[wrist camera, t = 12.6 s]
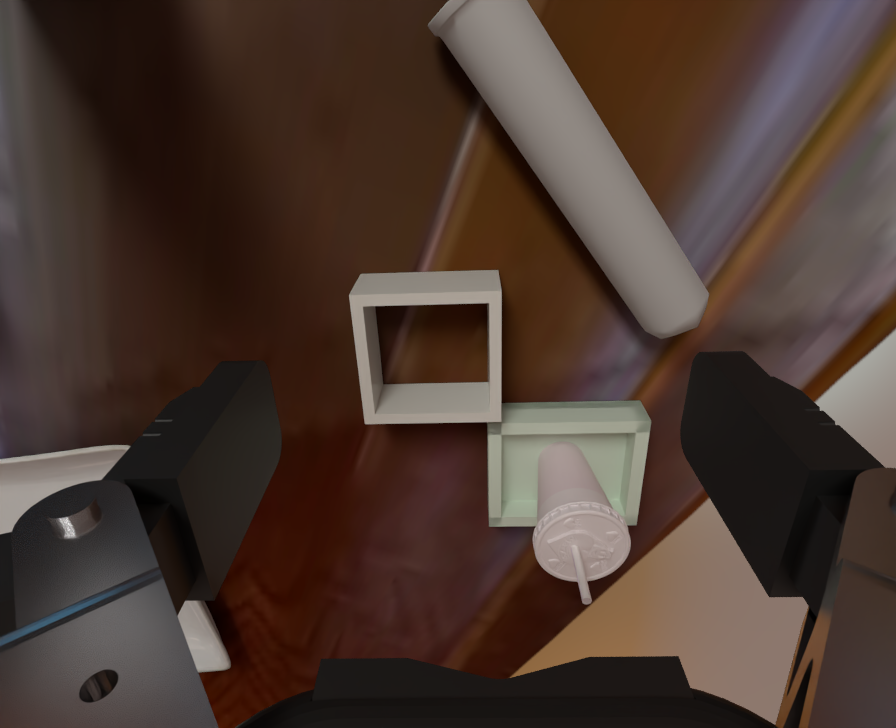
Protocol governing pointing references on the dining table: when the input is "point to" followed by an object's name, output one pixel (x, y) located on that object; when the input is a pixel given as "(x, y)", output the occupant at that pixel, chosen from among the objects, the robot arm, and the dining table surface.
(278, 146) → the dining table surface
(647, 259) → the tube
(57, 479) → the square plate
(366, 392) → the hollow square frame
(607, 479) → the tray
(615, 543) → the smoothie
